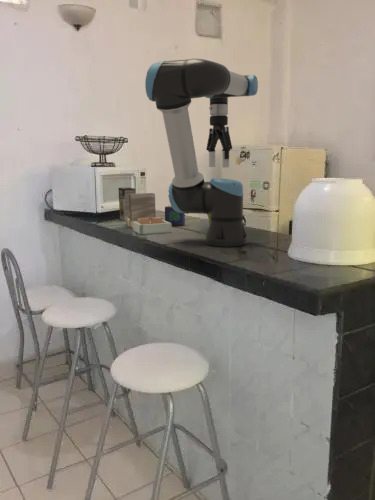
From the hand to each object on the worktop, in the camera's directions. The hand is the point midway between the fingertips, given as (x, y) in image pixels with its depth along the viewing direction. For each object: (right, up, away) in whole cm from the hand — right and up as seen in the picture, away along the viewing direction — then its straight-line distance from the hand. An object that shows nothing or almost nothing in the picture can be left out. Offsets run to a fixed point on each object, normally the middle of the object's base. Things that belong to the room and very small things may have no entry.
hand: (218, 167), depth 197 cm
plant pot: (-1, -28, -2) cm, 28 cm away
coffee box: (-44, -20, +38) cm, 61 cm away
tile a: (-27, -24, +4) cm, 36 cm away
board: (-34, -25, +14) cm, 44 cm away
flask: (-19, -24, +16) cm, 35 cm away
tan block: (-34, -22, +13) cm, 42 cm away
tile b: (-33, -24, +2) cm, 41 cm away
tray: (-28, -28, 0) cm, 40 cm away
